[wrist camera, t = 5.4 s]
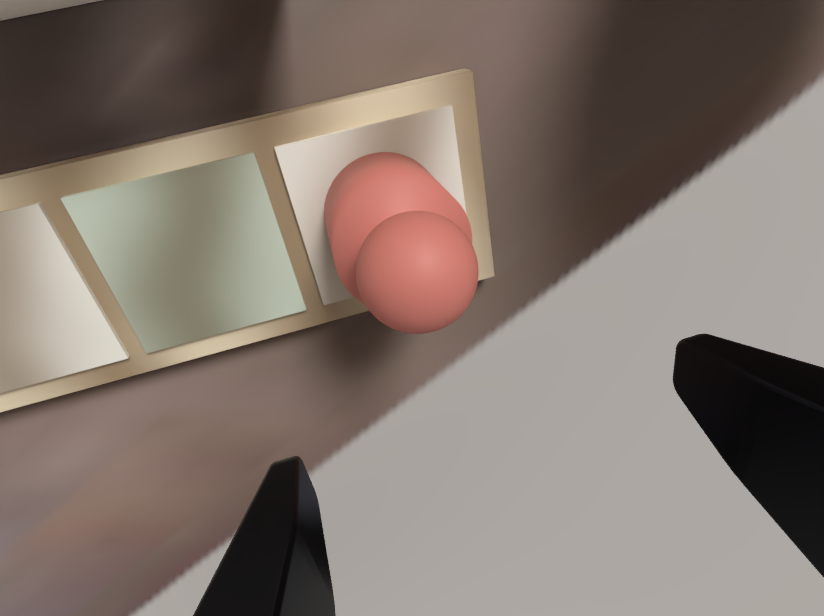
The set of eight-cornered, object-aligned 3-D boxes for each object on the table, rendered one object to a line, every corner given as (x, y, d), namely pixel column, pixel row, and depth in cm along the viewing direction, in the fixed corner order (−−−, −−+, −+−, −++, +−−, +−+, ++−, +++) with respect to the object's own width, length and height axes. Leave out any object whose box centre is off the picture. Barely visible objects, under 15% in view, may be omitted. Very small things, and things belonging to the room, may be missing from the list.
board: (464, 68, 16) (474, 71, 15) (486, 267, 20) (496, 278, 19) (-451, 278, 13) (-499, 296, 13) (-230, 463, 17) (-257, 486, 16)
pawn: (431, 139, 16) (506, 198, 11) (448, 250, 18) (519, 346, 13) (309, 168, 15) (326, 245, 10) (340, 279, 17) (368, 390, 12)
